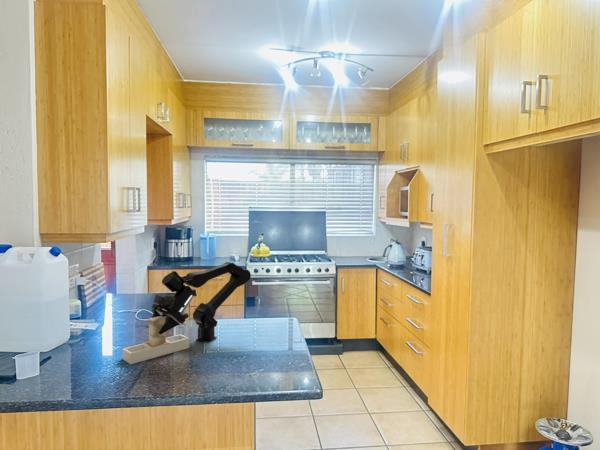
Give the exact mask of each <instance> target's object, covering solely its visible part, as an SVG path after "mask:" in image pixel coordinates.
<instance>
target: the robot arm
mask: <svg viewBox="0 0 600 450" xmlns="http://www.w3.org/2000/svg"><path fill="white" fill-rule="evenodd" d="M225 274H229V275H230V277H229V280H228V282H226V283H225V285H224V286H223V287H222V288H220V290H219V291H218V292H217V293H216V294H215V295H214V296H212V298H211V299H210V300H209V301H208V302H207V303H204V302H201V303H199V304H198V306H197V307H195V308H194V311H193V312H192V319H193V321H195V325H197V326H198V328H197V338H196V339H195V340H196V342H197V341H198V342H203V343H210V342H213V341H214V340H215V339H217V338H218V337H217V336H215V328H216V327H217V324H218V320H216V319H215V318H214V317H215V316H216V312H217V310H218V309H219V308H220V307H221V305H222V304H224V302H225V301H227V299H228V298H229V297H230V296H231V295H232V294H233V292H235V291H236V290H237V288H239V287H241V286H244V285H245V284H246V283H248V282H249V281H250V280H251V277H252V276H251V272H250V270H248V269H245V268H242V267H241V266H239V265H236V264H235V262H230V261H226V262H224V263H221V264H219V265H216V266H214V267H211V268H208V269H205V270H201V271H200V270H199V271H198V270H197V271H192V272H188V273H186V275H184V276H180V275H179V273H178V272H177V271H176V270H172V271H171V272H169V273H168V274H166V275H164V277H163V278H162V280H161V283H162V285H163V286H164V287H166V288H167V289H168V290H169V291H170V292H172V293H173V295H170V296H169V295H164V296H161V295H159V294H156V295H155V297H154V299H153V301H152V302H153V304H152V305H151V306H150V308H151V311H152V315H153V316H152V318H153V317H158V316H162V317H163V316H164V317H165V316H166V315H167V319H166V322H165V323H164V325H163V326H162V328H161V329H160V331H159V334H160V335H161V334H163V333H165V334H166V332H168V331H170V330H172V329H173V328H176V327H177V326H180V325H183V324H184V323H185V322H186V319H185V316H183V315H182V314H181V313H180V312H181V311H180V310H181V309H185V307H186V305H185V304H186V302H187V301H188V300H189V299H190V297H191V296H193V297H197V290H196V289H198V288H200V287H202V286H204V285H206V284H207V282H208V281H210V280H213V279H214V278H217V277H220V276H222V275H225ZM194 288H195V289H194ZM147 328H148V329H149V325H148V326H147Z"/></svg>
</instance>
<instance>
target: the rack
mask: <svg viewBox="0 0 600 450" xmlns="http://www.w3.org/2000/svg"><path fill="white" fill-rule="evenodd" d="M189 348H190V337H188V336H185V335H183V334H181V333H180V334H176V335H171V336H168V337H166V343H163V344H159V345H155V346H152V347H151V346H149V340H148V341H145V342H143V343H139V344H136V345H135V344H134V345H132V346H128V347H124V348H122V349H121V350H122V352H121V353H122V357H121V359H122V360H124V361H125V362H126V363H128V364H129V365H134V364H137V363H140V362H144V361H147V360H151V359H154V358H158V357H161V356H164V355H169V354H171V353H176V352H178V351H183V350H186V349H189Z"/></svg>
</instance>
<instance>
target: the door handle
mask: <svg viewBox="0 0 600 450" xmlns="http://www.w3.org/2000/svg"><path fill="white" fill-rule="evenodd" d="M179 312H180V313H181V314H182V315H183V316H185V320H186V319H188V318H189V315H190V314H189V313H188V312H182V311H179ZM152 316H153V314H151V315H150V318H151V317H152ZM163 317H164V316H163ZM164 318H165V322H166V319H167V315H166V316H165V317H164Z"/></svg>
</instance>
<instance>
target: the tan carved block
mask: <svg viewBox="0 0 600 450" xmlns="http://www.w3.org/2000/svg"><path fill="white" fill-rule="evenodd" d="M164 323H165V318H164V317H162V316H158V317H153V318H151V317H149V318H148V326H149V328H148V341H149V346H151V347H152V346H155V345H159V344H163V343H166V338H167V337H166V332H165V333H163V334H161V335H160V334H159V331H160V329H161V328H162V326H163V325H164Z"/></svg>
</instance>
